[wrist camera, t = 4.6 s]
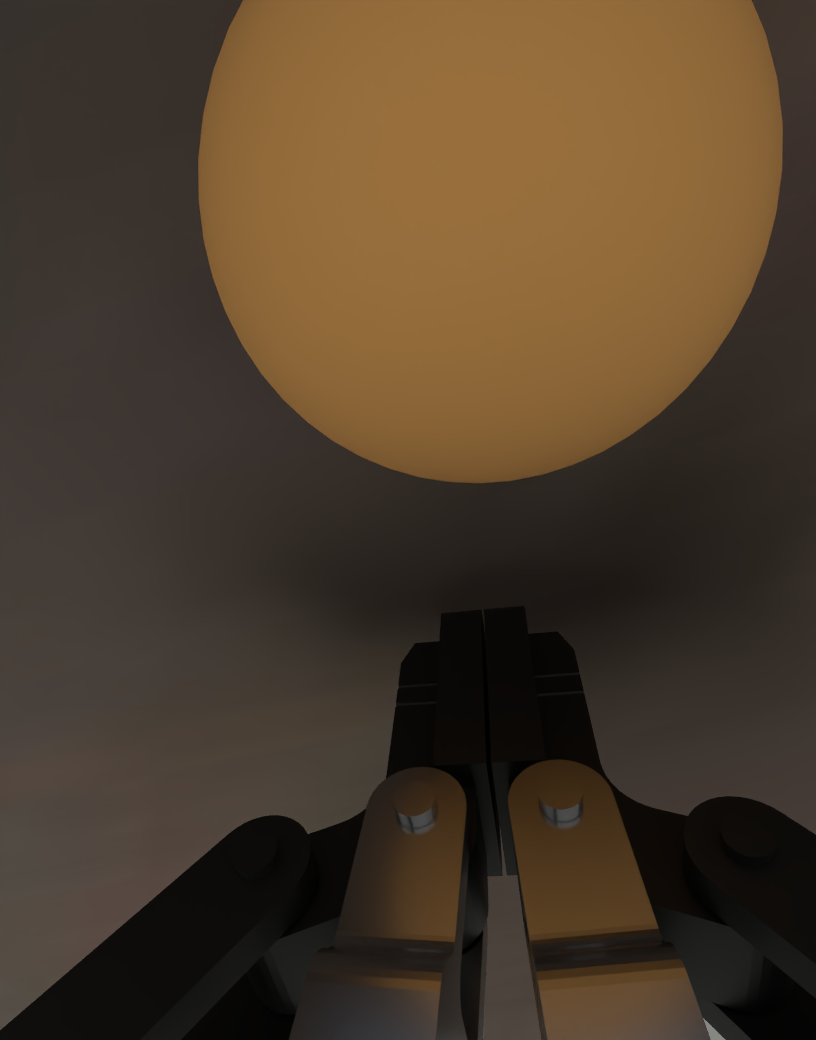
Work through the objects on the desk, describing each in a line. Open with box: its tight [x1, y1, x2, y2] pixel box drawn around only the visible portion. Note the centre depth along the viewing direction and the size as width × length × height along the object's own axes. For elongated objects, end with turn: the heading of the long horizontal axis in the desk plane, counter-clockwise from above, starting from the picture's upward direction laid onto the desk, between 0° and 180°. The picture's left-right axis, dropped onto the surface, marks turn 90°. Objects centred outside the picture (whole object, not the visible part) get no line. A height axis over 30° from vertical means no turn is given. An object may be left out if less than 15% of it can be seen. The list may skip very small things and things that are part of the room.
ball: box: [198, 0, 783, 483], centre depth 7 cm, size 6×6×6 cm
